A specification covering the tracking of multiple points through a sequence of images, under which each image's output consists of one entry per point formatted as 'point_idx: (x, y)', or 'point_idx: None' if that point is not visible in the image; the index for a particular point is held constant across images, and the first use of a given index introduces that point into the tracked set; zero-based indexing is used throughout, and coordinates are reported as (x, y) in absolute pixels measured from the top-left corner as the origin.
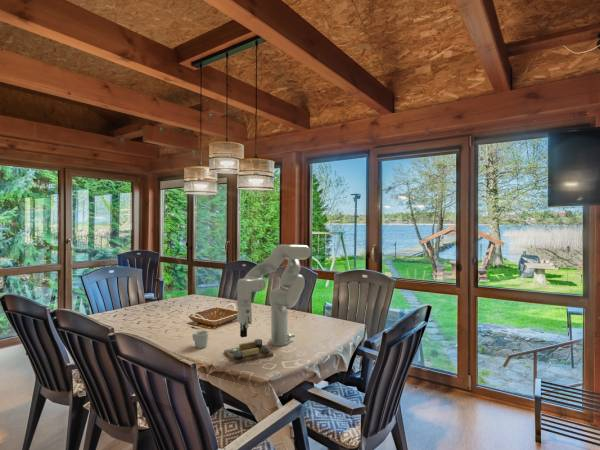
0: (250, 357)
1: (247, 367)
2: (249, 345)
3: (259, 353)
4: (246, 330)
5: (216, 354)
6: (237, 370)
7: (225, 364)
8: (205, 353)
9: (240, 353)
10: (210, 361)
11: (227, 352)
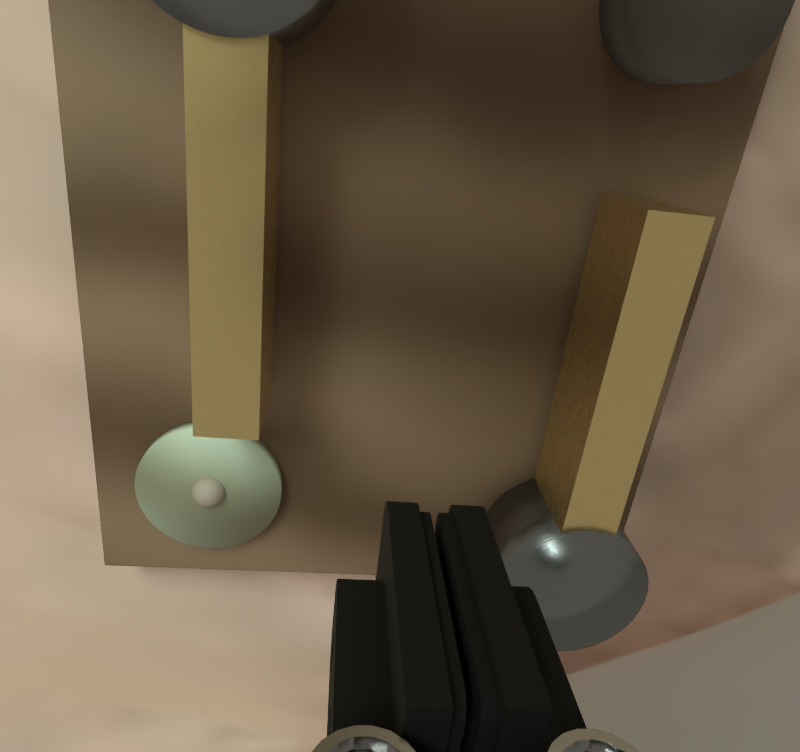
0: None
1: (779, 480)
2: (271, 209)
3: (621, 155)
4: (531, 679)
5: (126, 626)
6: (748, 592)
7: None
8: (20, 709)
9: (643, 579)
10: (316, 724)
11: (233, 561)
